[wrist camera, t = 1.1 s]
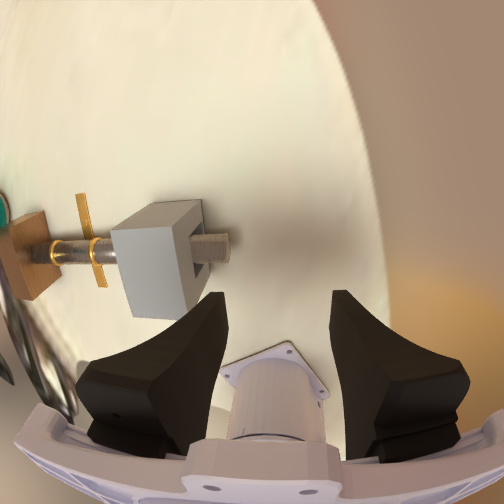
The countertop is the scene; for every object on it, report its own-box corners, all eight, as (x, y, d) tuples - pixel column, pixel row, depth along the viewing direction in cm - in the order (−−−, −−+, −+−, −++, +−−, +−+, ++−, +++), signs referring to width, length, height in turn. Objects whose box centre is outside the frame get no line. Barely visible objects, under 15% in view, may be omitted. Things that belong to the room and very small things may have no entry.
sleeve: (200, 199, 20) (171, 226, 15) (210, 274, 22) (189, 320, 17) (150, 203, 21) (109, 230, 15) (163, 274, 23) (133, 316, 17)
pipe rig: (227, 176, 20) (210, 190, 15) (237, 289, 23) (227, 327, 19) (23, 205, 22) (-10, 221, 17) (46, 283, 25) (19, 306, 21)
